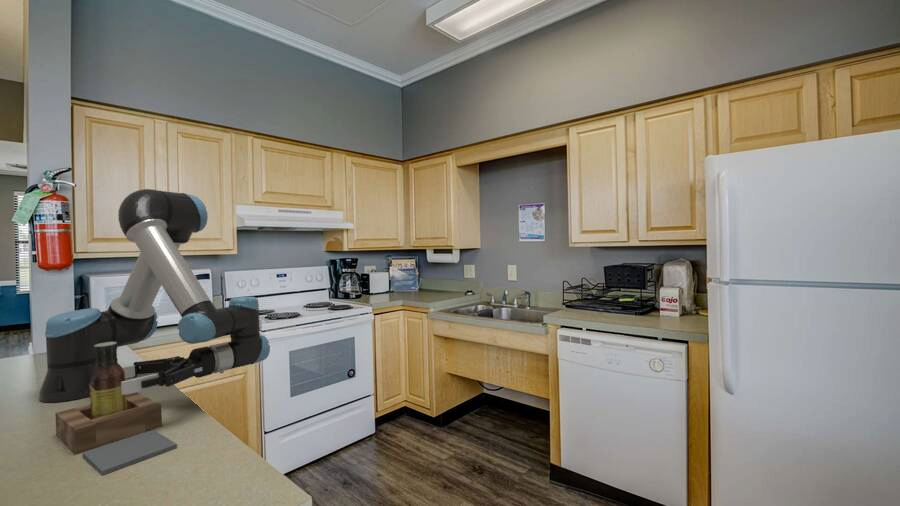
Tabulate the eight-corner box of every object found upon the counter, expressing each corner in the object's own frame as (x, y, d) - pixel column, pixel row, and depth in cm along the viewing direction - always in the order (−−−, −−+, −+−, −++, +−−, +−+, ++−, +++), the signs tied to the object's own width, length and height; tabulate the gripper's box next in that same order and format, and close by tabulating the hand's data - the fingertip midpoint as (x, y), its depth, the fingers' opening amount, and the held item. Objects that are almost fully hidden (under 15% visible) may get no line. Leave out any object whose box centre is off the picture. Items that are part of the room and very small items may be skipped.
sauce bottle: (106, 425, 95) (103, 340, 95) (134, 423, 96) (131, 339, 96) (83, 438, 89) (80, 347, 88) (114, 436, 89) (110, 346, 89)
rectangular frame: (56, 435, 91) (55, 413, 91) (137, 412, 103) (136, 392, 103) (75, 454, 82) (74, 429, 82) (162, 426, 94) (161, 404, 94)
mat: (82, 456, 81) (82, 452, 81) (153, 433, 91) (153, 429, 91) (102, 475, 74) (102, 471, 74) (176, 447, 84) (176, 443, 84)
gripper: (234, 382, 102) (132, 411, 85) (189, 366, 117) (93, 389, 99) (234, 352, 102) (131, 375, 85) (188, 340, 117) (92, 358, 99)
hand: (110, 382), depth 92 cm, fingers open, 13 cm apart
